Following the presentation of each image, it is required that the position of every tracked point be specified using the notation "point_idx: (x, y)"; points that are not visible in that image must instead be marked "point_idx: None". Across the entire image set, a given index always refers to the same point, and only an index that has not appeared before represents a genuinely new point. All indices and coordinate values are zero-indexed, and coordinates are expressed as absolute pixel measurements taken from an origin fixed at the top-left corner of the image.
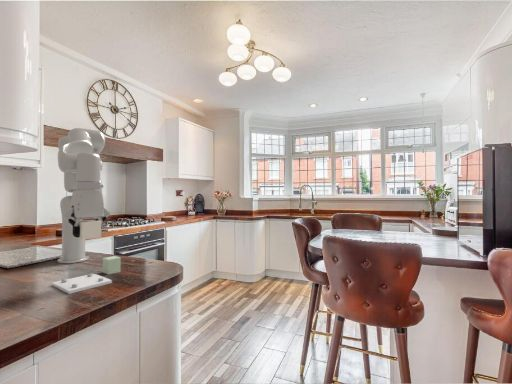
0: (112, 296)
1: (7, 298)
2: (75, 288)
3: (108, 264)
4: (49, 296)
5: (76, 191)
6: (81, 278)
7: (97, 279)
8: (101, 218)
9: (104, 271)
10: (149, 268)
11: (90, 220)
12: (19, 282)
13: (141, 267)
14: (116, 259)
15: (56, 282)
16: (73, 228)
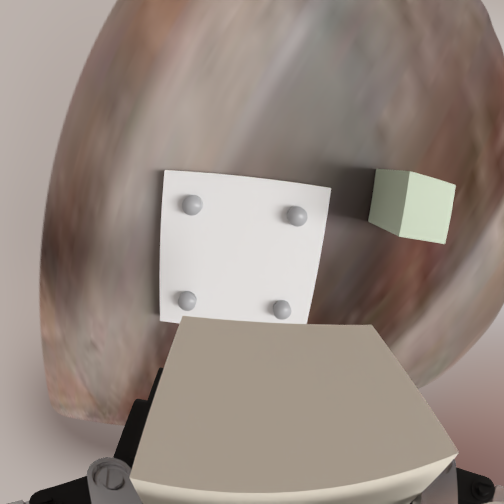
0: None
1: (52, 191)
2: (183, 314)
3: (387, 229)
4: (122, 279)
5: None
6: (259, 215)
7: (284, 285)
8: (461, 499)
9: (376, 187)
10: (465, 276)
11: (383, 498)
12: (133, 33)
13: (468, 241)
14: (426, 239)
15: (173, 184)
16: (124, 453)
